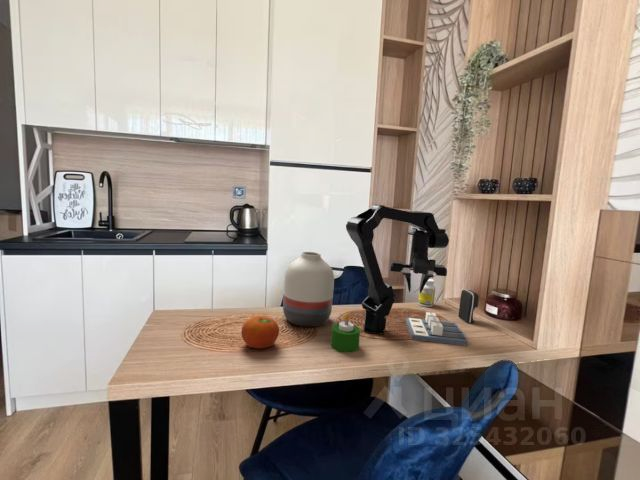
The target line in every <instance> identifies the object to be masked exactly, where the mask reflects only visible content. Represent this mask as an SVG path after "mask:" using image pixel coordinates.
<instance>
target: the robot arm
mask: <svg viewBox="0 0 640 480" xmlns="http://www.w3.org/2000/svg"><path fill="white" fill-rule="evenodd" d="M383 219H386V220H392V221H397V222H403V223H406V224H407V225H408V226H411V227H412V228H411V229H410V230H409V231H407V235H410V236H412V237H411V246H410V255H409V263H408V264H407V263H403V262H402V261H401V260H390V262H389V267H388V268H389V270H390V272H395V273H397V272H398V273H400V274H402V275H404V277H405V281H406V284H407V290H408V293H411V289H412V284H411V283H412V282H411V281H412V278H411V277H412V273H411V271H412V272H413V273H414V274H415V275H416V274H417V275H418V274H421V278H420V283H419V284H420V285H419V290H418V291H419V292H420V293H421V292H422V290H423V288H424V286H425V284H426V282H427V281H428V279H432V278H434V273H435V274H436V276H438V277H440V276H441V277H447V275H448V269H447V268H446V267H445V265H443V264H436V263H437V262H436V259H429V248H430V249H445V248H446V247H448V245H449V243H450V239H449V235H448V234H447V233H446V228H439V225H438V224H437V221H436V218H435V215H434V213H431V212H427V211H419V210H410V211H407V210H403V209H399V208H393V207H388V206H385V205H382V204H373V205H372V206H370V207H369V208H367V209H366V210H364V211H362V212H360V213H358V214H357V215H356V216H353V217H351V218H349V219H348V221H347V223H346V224H345V229H346V232H347V235H349V237H350V239H351V241H352V242H353V243H354V244H355V245H356V247H357V249H358V253H359V256H360V258H361V259H360V260H361V263H362V266H363V269H364V272H365V276H366V279H367V282H368V289H367V296H366V298H364V300H363V301H362V302H361V306H362V309H364V310H365V312H364V314H365V315H364V324H363V332H364V333H370V334H379V335H383V334H384V335H385V331H386V327H387V325H386V324H387V317H388V316H389V314H390V313H391V310H392V308H393V305H394V304H395V297H396V295H395V294H394V290H393V289H394V288H393V286H392V285H391V284H388V283H386V282H384V277H383V275H382V271H381V268H380V265H379V262H378V258H377V254H376V251H375V249H374V245H373V241H374V236H375V235H374V234H375V233H374V230H375V229H376V228H377V227H379V226H380V224H381V222H382V220H383Z"/></svg>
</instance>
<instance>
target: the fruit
mask: <svg viewBox="0 0 640 480" xmlns="http://www.w3.org/2000/svg"><path fill="white" fill-rule="evenodd" d="M279 328H280V327H279V325H278V323H277V321H275V320H274V318H272V317H270V316H266V315H256V316H255V315H254V316H252V317H250V318H249V319H247V320H246V321H245V322H244V323H243V325H242V327H241V338H242V340H243V342H244V343H245V344H246V345H247V346H248V347H250V348H253V349H267V348H269V347H272V346H273V345H274V343H275V342H276V341H277V339H278V337H279V335H280V329H279Z"/></svg>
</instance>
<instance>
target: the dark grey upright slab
mask: <svg viewBox="0 0 640 480" xmlns="http://www.w3.org/2000/svg"><path fill="white" fill-rule="evenodd" d="M479 299H480V297H479V294H478V293H477V292H475V291H474V290H470V289H463V290H461V293H460V299H459V308H458V309H459V311H458V317H459V319H461V320H462V321H464V322H466V323H468V324H472V323H474V322H475V320H474V316H473V315H474V311H475V309H476V308H478V307H479Z"/></svg>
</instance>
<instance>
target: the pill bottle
mask: <svg viewBox="0 0 640 480" xmlns="http://www.w3.org/2000/svg"><path fill="white" fill-rule="evenodd" d="M435 292H436V286H435V280H434V279H432V278H429V279H428V281H427V282H426V284H425V286H424V288H423V290H422V292H421V293H420V292H419V294H418V302H417V303H418V305H419V306H421V307H424V308H431V307H433V306H434V302H435V294H436V293H435Z"/></svg>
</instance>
